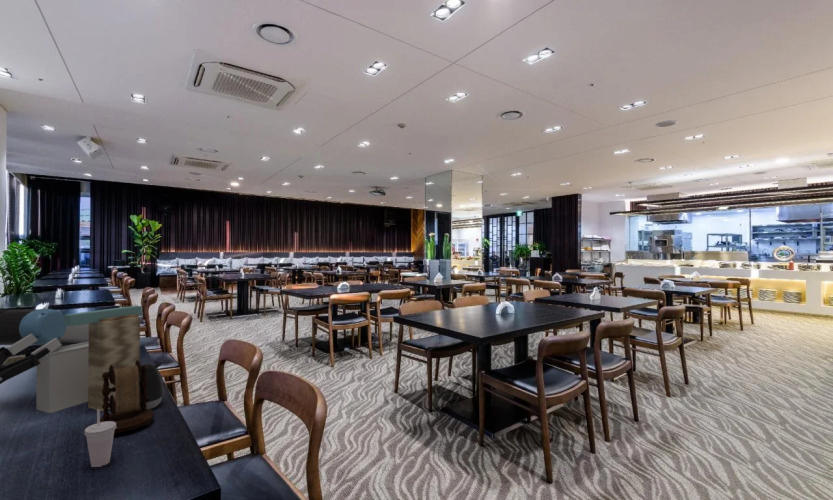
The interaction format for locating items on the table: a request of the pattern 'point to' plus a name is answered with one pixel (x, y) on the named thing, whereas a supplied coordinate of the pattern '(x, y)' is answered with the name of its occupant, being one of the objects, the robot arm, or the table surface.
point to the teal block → (99, 315)
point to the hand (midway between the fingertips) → (46, 339)
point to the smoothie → (100, 441)
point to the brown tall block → (111, 352)
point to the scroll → (126, 398)
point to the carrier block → (63, 378)
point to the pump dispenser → (153, 386)
